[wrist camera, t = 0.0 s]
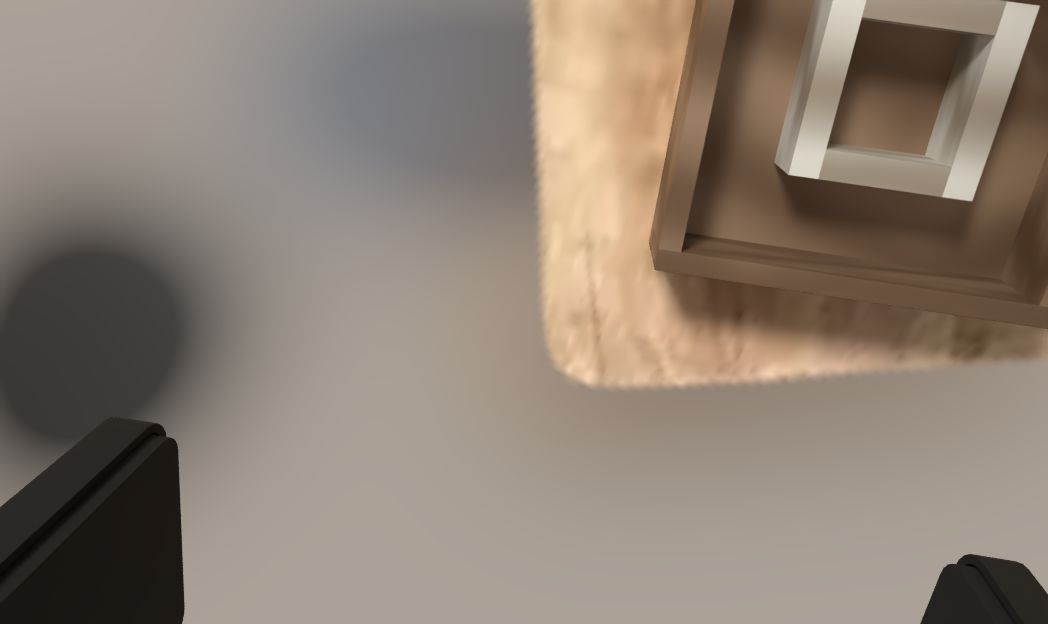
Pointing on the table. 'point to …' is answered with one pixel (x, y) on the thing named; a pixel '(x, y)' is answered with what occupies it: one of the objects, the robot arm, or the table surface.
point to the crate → (864, 153)
